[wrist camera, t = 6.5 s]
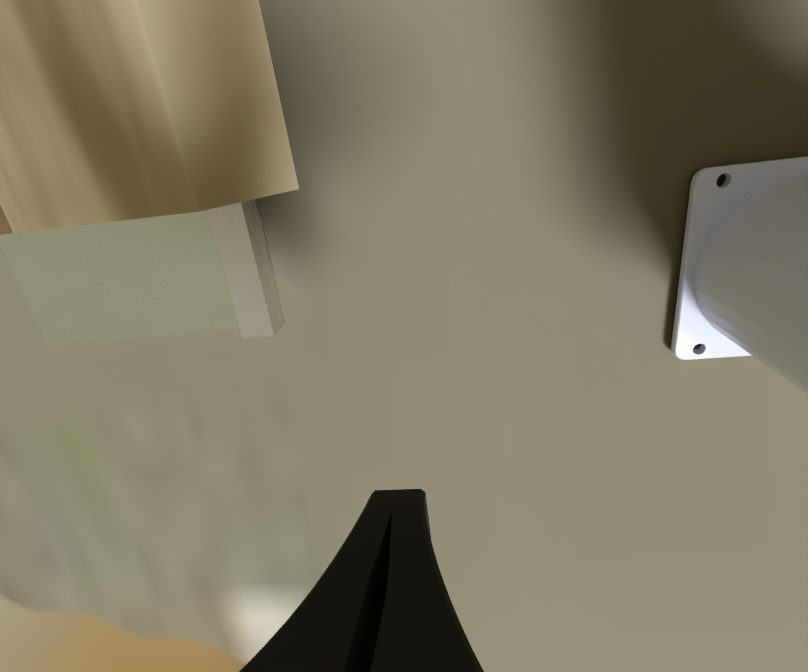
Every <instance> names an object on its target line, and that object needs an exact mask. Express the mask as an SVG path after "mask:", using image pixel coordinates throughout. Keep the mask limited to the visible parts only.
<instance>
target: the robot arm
mask: <svg viewBox="0 0 808 672" xmlns="http://www.w3.org/2000/svg"><path fill="white" fill-rule="evenodd" d="M721 174H724V175H725V177H726V180H725V182H724V183H723V184H722V185H721V186H719V187H718V186H717V183H716V181H717V178H718V177H719V176H720V175H721ZM697 344H701V346H700V348H699V349H698V350H695V351H693V348H694V346H695V345H697ZM671 351H672V353H673V354H674V355H675V356H676V357H677V358H679V359H682V360H689V359H705V358H721V357H737V356H754V357H755V358H757V359H758V360H759V361H761V362H762V363H764V364H765V365H767V366H768V367H770V368H771V369H772V370H774V371H775V372H777V373H778V374H780V375H781V376H782V377H784V378H785V379H787V380H788V381H790V382H791V383H792V384H794V385H795V386H797V387H798V388H800V389H801V390H802V391H804V392H805V393H807V394H808V156H806V157H797V158H788V159H780V160H771V161H762V162H753V163H744V164H735V165H726V166H717V167H708V168H704V169H701V170H699V171H698V172H697V173H696V174H695V175H694V176H693V178H692V181H691V187H690V195H689V203H688V212H687V220H686V228H685V236H684V245H683V253H682V261H681V270H680V278H679V286H678V295H677V303H676V311H675V320H674V328H673V336H672V345H671ZM239 672H484V671H483V669H482V667H481V665H480V663H479V662H478V660H477V658H476V656H475V654H474V652H473V650H472V648H471V646H470V644H469V641H468V639H467V637H466V635H465V633H464V631H463V628H462V626H461V624H460V622H459V619H458V617H457V615H456V612H455V610H454V607H453V605H452V603H451V600H450V597H449V595H448V592H447V590H446V587H445V584H444V581H443V578H442V576H441V573H440V570H439V567H438V564H437V561H436V557H435V554H434V550H433V546H432V543H431V535H430V527H429V519H428V511H427V503H426V495H425V492H424V491H423V490H421V489H405V490H376V491H374V492H373V493H372V494H371V496H370V498H369V500H368V502H367V504H366V506H365V508H364V510H363V512H362V513H361V515H360V517H359V519H358V520H357V522H356V524H355V526H354V527H353V529H352V531H351V532H350V534H349V536H348V537H347V539H346V540H345V542H344V544H343V545H342V547H341V548H340V550H339V552H338V553H337V555H336V556H335V558H334V559H333V561H332V562H331V564H330V565H329V566H328V568H327V569H326V571H325V572H324V573H323V575H322V576H321V578H320V579H319V581H318V582H317V583H316V585H315V586H314V587H313V589H312V590H311V591H310V593H309V594H308V595H307V597H306V598H305V599H304V600H303V602H302V603H301V604H300V606H299V607H298V608H297V609H296V610H295V612H294V613H293V614H292V615H291V616H290V618H289V619H288V620H287V621H286V622H285V624H284V625H283V626H282V627H281V628H280V629H279V630H278V631H277V632H276V634H275V635H274V636H273V637H272V638H271V639H270V640H269V641H268V642H267V644H266V645H265V646H264V647H263V648H262V649H261V650H260V651H259V652H258V653H257V654H256V655H255V656H254V657H253V658H252V659H251V660H250V662H249V663H248V664H246V665H245V666H244V668H242V669H241V670H240V671H239Z"/></svg>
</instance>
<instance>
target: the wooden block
mask: <svg viewBox="0 0 808 672" xmlns="http://www.w3.org/2000/svg"><path fill="white" fill-rule="evenodd" d="M298 189H299V186H298V181H297V176H296V172H295V167H294V162H293V158H292V153H291V148H290V144H289V139H288V134H287V130H286V125H285V120H284V116H283V111H282V106H281V102H280V97H279V92H278V88H277V83H276V78H275V73H274V69H273V64H272V59H271V55H270V50H269V45H268V41H267V36H266V31H265V27H264V22H263V17H262V13H261V8H260V3H259V0H0V235H2V234H11V233H19V232H28V231H37V230H45V229H54V228H62V227H71V226H80V225H88V224H97V223H105V222H114V221H123V220H131V219H140V218H148V217H157V216H166V215H174V214H183V213H191V212H200V211H204V210H209V209H213V208H218V207H222V206H227V205H231V204H235V203H240V202H244V201H249V200H253V199H258V198H262V197H267V196H271V195H275V194H280V193H284V192H289V191H293V190H298Z"/></svg>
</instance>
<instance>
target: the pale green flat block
mask: <svg viewBox="0 0 808 672" xmlns="http://www.w3.org/2000/svg"><path fill="white" fill-rule="evenodd" d="M0 247H1V249H2V251H3V254H4V256H5V258H6V260H7V262H8V264H9V266H10V269H11V271H12V273H13V275H14V277H15V279H16V282H17V284H18V286H19V288H20V290H21V292H22V295H23V297H24V299H25V301H26V303H27V305H28V308H29V310H30V312H31V314H32V316H33V318H34V321H35V323H36V325H37V327H38V329H39V331H40V334H41V336H42V338H43V340H44V342H45V344H46V345H50V344H63V343H75V342H88V341H101V340H113V339H126V338H138V337H151V336H163V335H176V334H188V333H201V332H213V331H226V330H238V329H240V332H241V335H242V338H253V337H266V336H274V335H275V334H276V333H277V332H278V331H279V330H280V329H281V328H282V326H283V325H284V324H285V321H284V317H283V313H282V309H281V304H280V300H279V296H278V292H277V287H276V283H275V279H274V274H273V270H272V266H271V262H270V257H269V253H268V249H267V245H266V240H265V236H264V232H263V228H262V223H261V219H260V215H259V211H258V206H257V202H256V199H253V200H249V201H244V202H240V203H235V204H231V205H227V206H222V207H218V208H213V209H209V210H204V211H200V212H191V213H183V214H174V215H166V216H157V217H148V218H140V219H131V220H123V221H114V222H105V223H97V224H88V225H80V226H71V227H62V228H54V229H45V230H37V231H28V232H19V233H11V234H2V235H0Z"/></svg>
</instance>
